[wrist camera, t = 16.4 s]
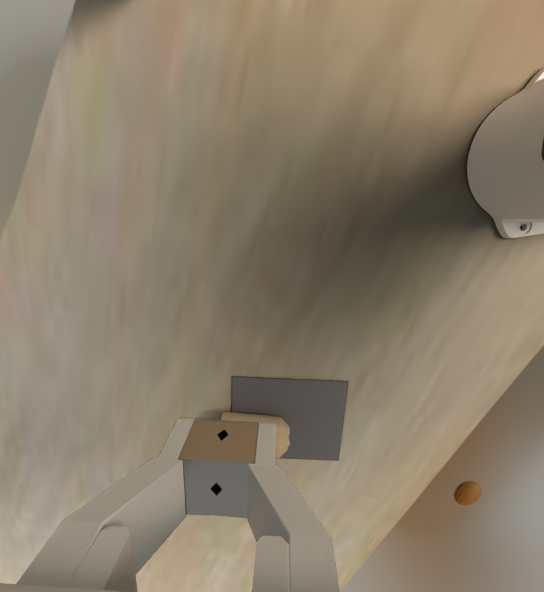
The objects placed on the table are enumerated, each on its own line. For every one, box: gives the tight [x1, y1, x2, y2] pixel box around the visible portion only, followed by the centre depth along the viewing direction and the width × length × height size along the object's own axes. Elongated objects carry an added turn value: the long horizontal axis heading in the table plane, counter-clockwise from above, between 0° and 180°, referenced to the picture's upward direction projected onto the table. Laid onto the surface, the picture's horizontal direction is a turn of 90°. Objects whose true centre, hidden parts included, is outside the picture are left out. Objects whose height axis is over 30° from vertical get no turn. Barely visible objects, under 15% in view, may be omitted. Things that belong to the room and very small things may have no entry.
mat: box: [232, 376, 348, 461], centre depth 44 cm, size 17×14×1 cm
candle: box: [221, 412, 290, 459], centre depth 41 cm, size 6×6×10 cm
